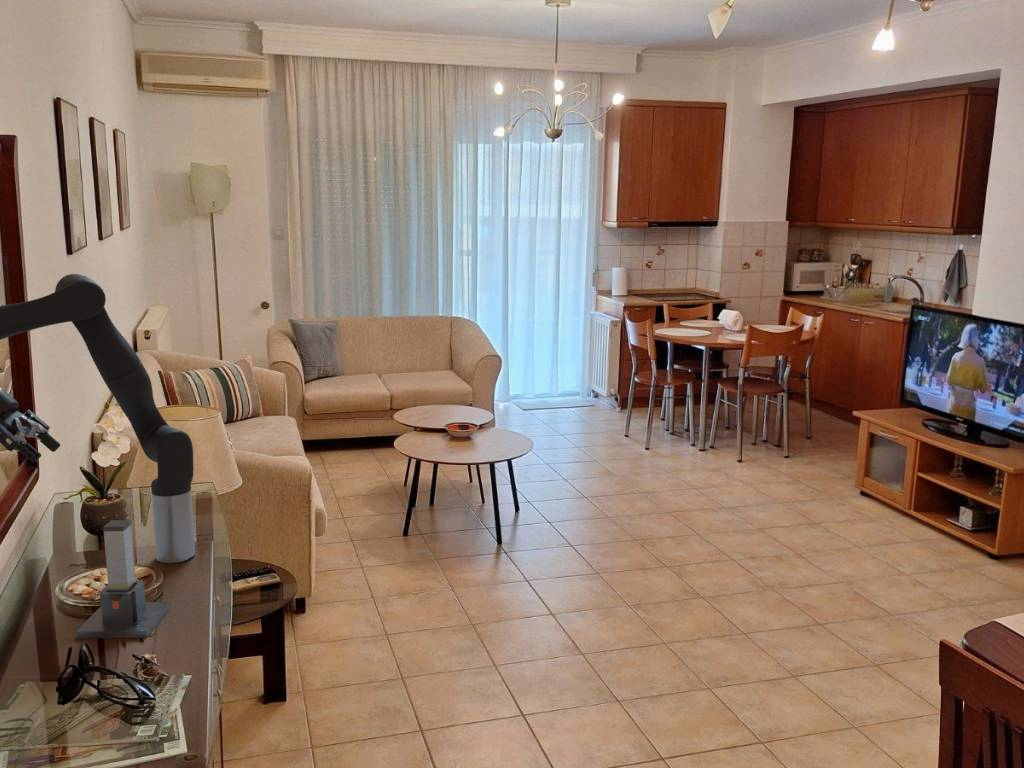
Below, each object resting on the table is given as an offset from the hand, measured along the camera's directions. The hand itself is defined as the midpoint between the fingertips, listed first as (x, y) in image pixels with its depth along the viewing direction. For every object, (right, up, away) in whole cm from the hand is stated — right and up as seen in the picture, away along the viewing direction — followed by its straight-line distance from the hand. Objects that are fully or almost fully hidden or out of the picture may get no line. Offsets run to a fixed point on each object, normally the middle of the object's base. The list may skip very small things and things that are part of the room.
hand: (47, 453), depth 192 cm
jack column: (+17, -29, -2) cm, 34 cm away
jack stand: (+17, -35, -1) cm, 39 cm away
